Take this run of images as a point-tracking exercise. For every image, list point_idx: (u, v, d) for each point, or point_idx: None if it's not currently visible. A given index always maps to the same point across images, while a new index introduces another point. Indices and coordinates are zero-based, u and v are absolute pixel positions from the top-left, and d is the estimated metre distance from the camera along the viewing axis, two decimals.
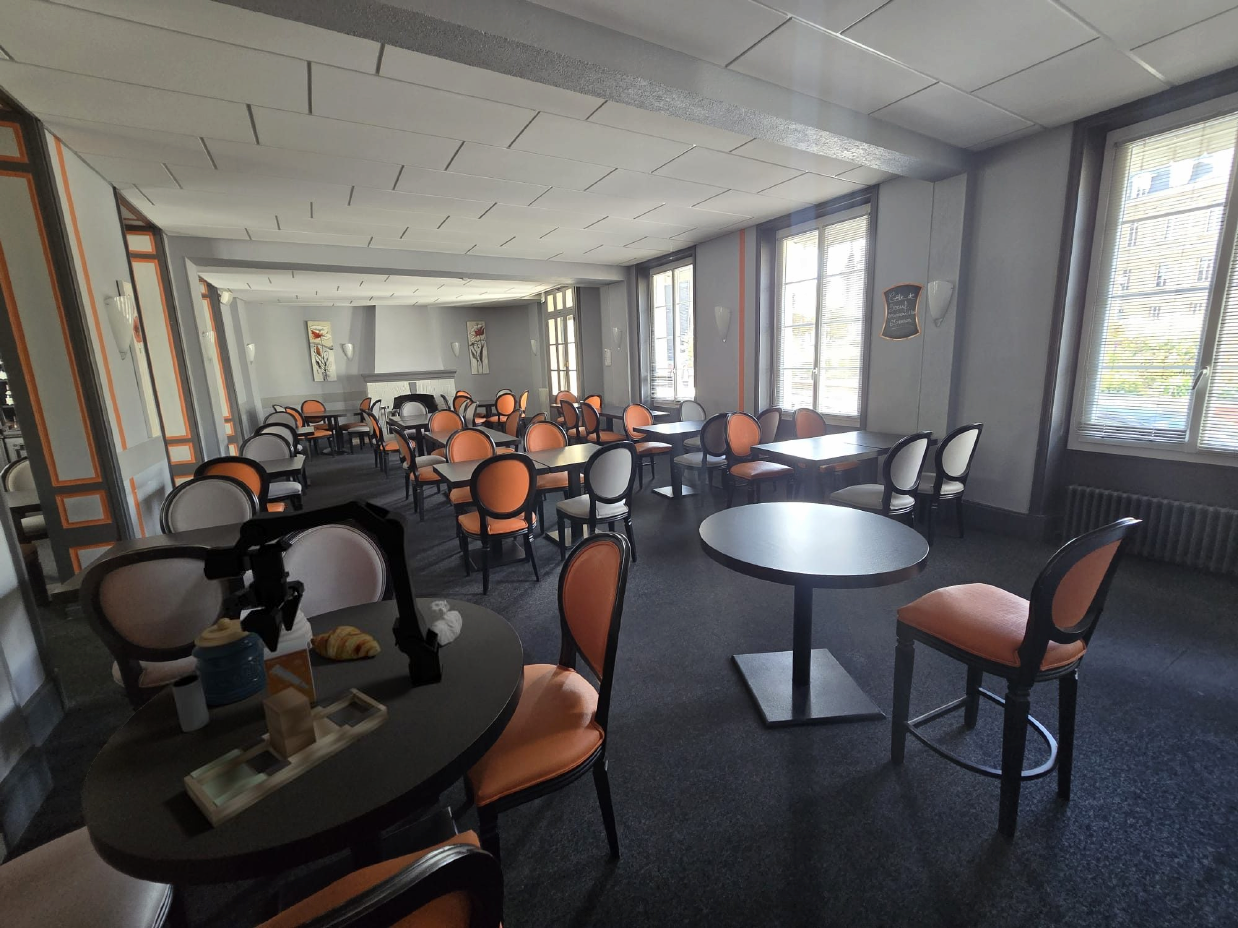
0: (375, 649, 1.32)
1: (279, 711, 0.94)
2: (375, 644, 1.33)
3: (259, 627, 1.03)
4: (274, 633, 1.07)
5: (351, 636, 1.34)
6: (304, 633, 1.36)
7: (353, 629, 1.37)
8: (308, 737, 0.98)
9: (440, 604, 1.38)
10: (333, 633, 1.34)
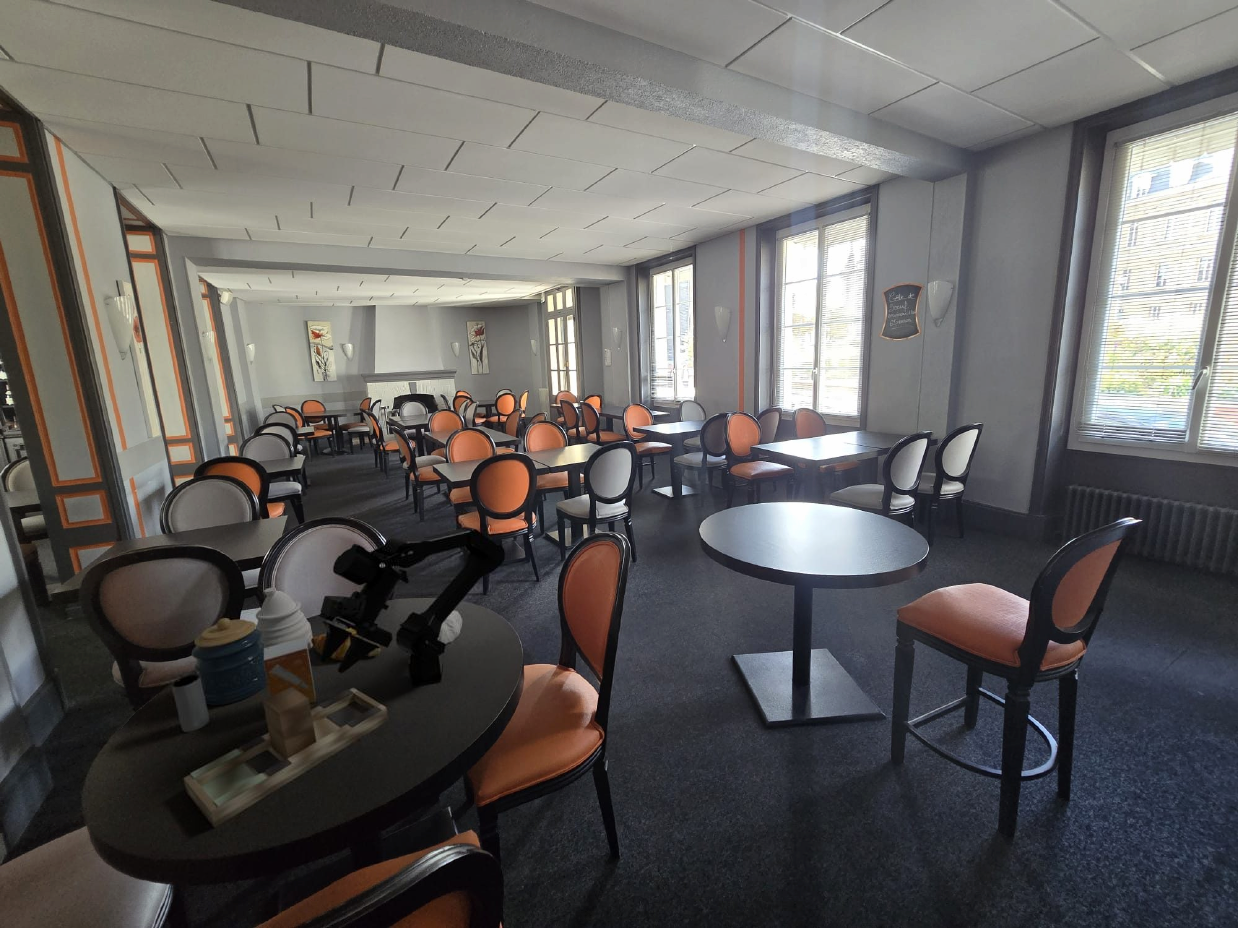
0: (375, 649, 1.32)
1: (279, 711, 0.94)
2: None
3: (379, 641, 1.02)
4: (363, 653, 1.04)
5: None
6: (304, 633, 1.36)
7: None
8: (308, 737, 0.98)
9: None
10: None
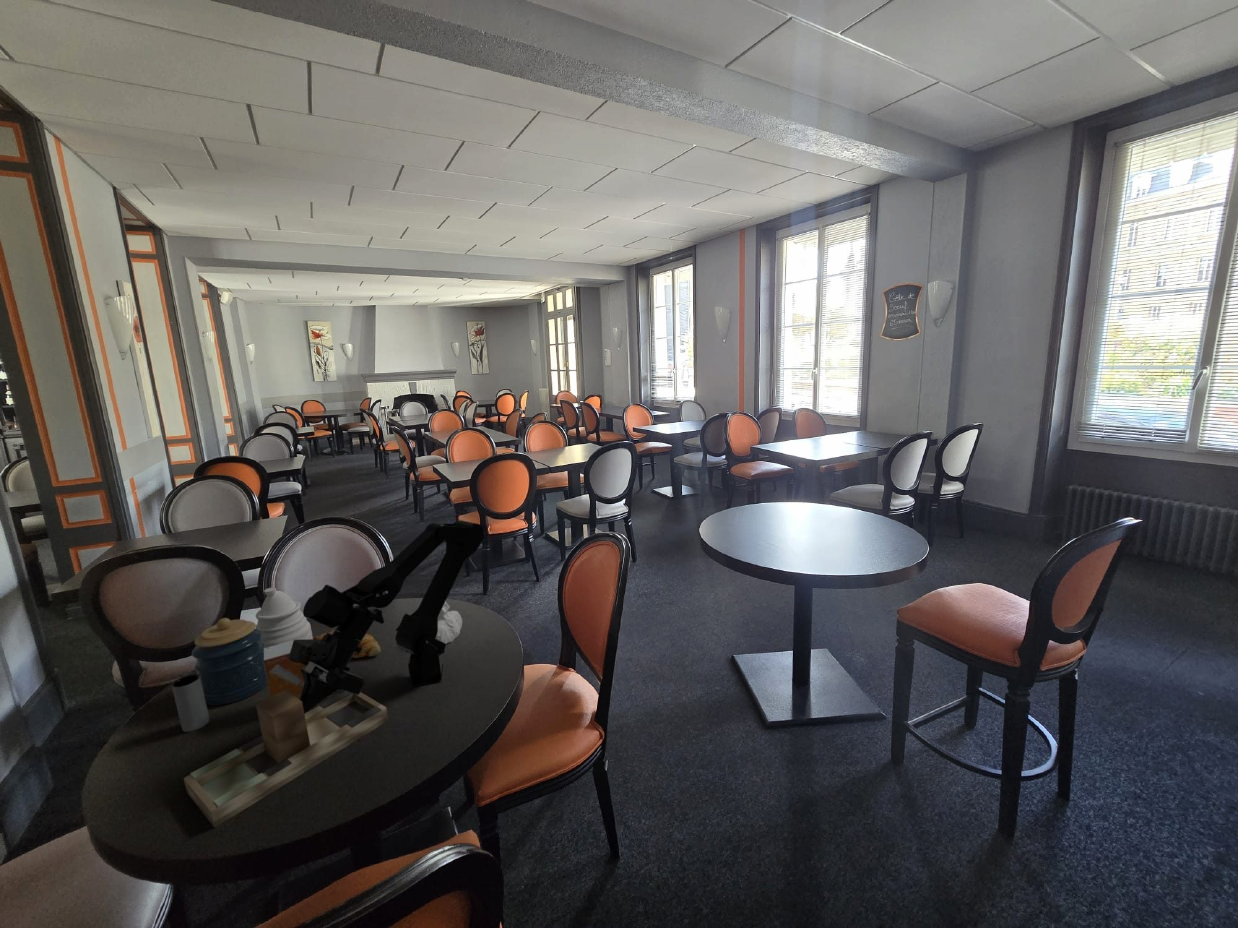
0: (375, 649, 1.32)
1: (272, 714, 0.93)
2: (376, 644, 1.33)
3: (349, 689, 0.98)
4: (324, 694, 1.01)
5: None
6: (304, 633, 1.36)
7: None
8: (302, 741, 0.97)
9: None
10: None
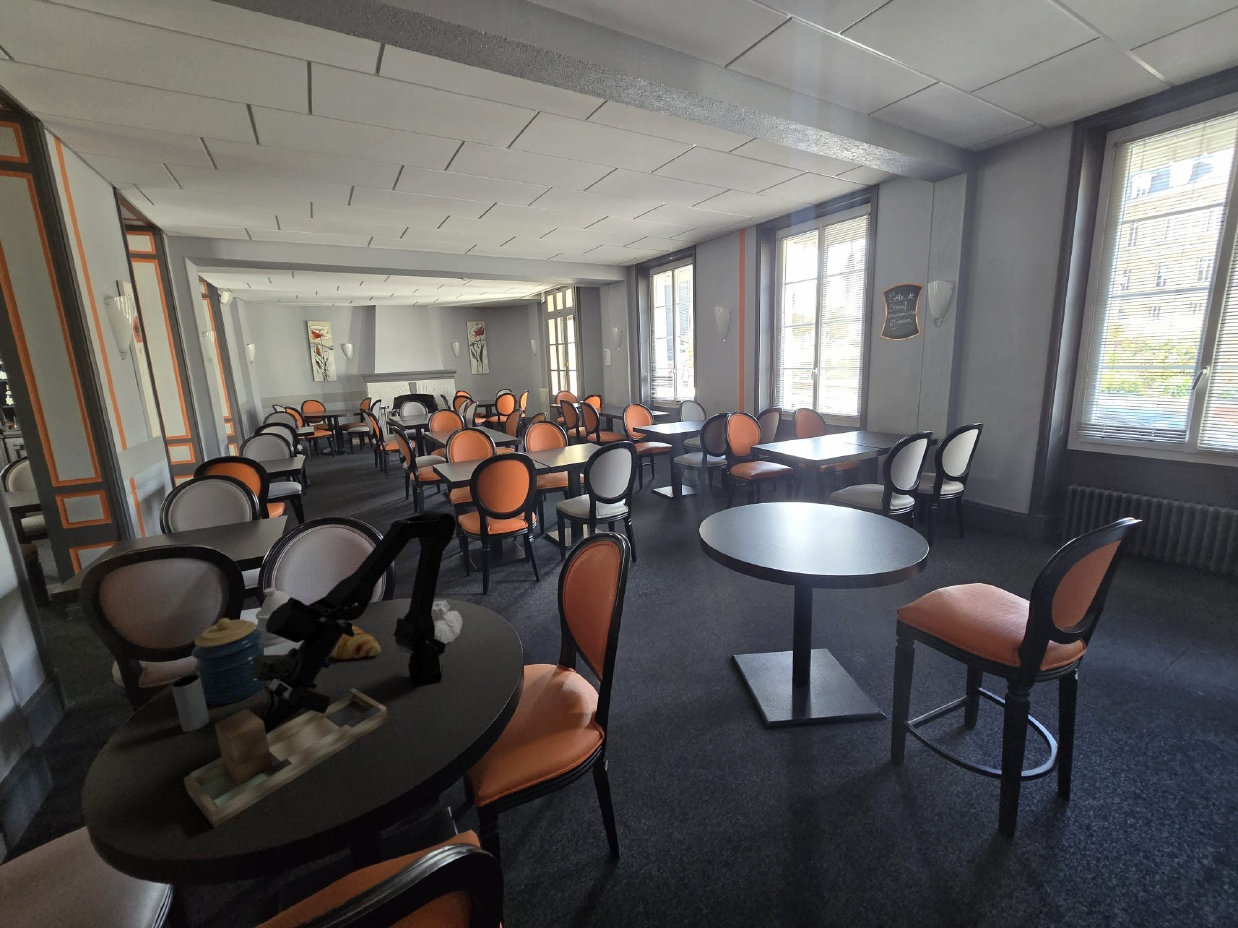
0: (375, 649, 1.32)
1: (230, 736, 0.88)
2: (376, 644, 1.33)
3: (314, 708, 0.93)
4: (288, 713, 0.96)
5: None
6: None
7: (355, 629, 1.37)
8: (264, 763, 0.92)
9: (440, 604, 1.38)
10: None
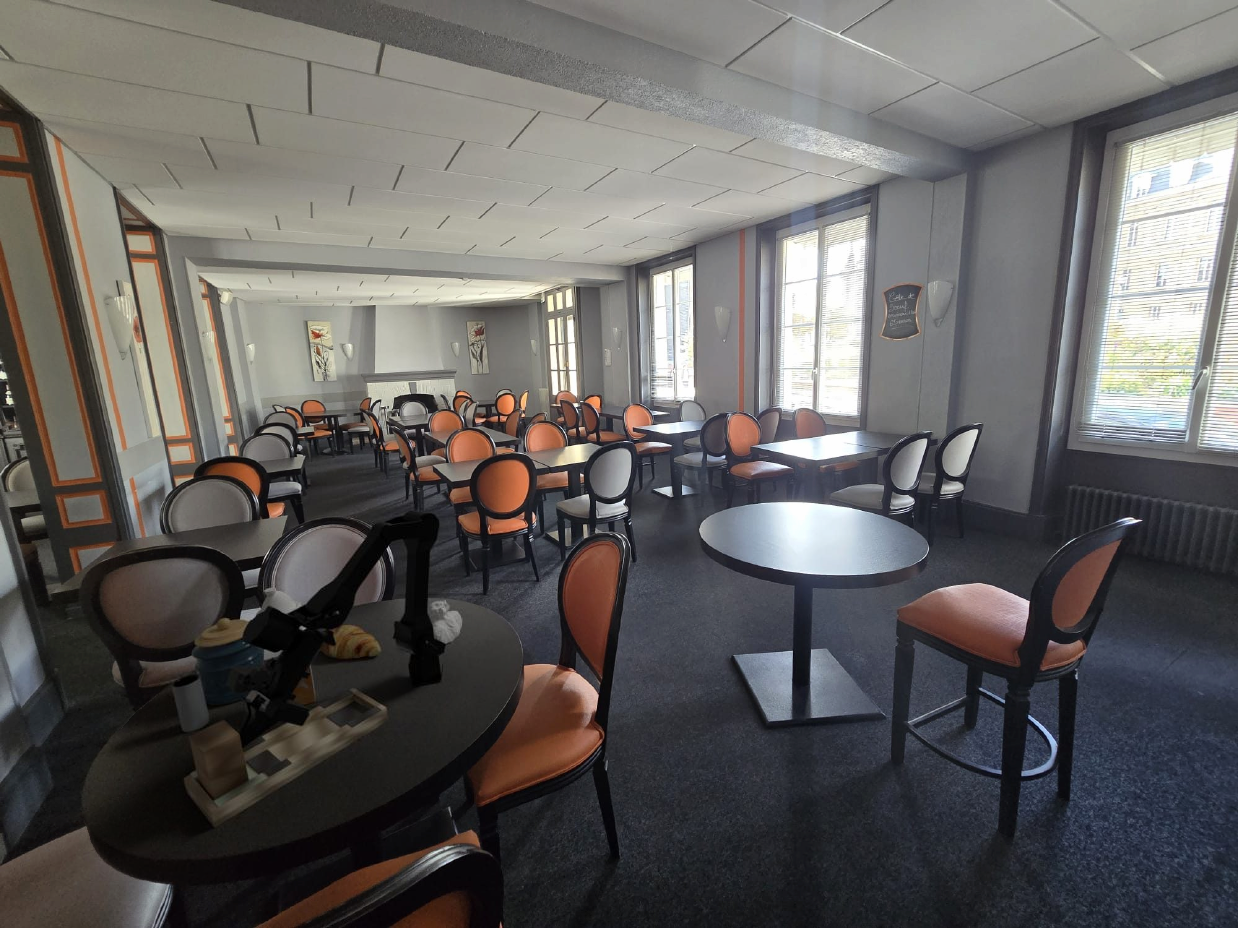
0: (375, 649, 1.32)
1: (203, 749, 0.85)
2: (376, 644, 1.33)
3: (292, 720, 0.90)
4: (266, 725, 0.94)
5: (353, 636, 1.34)
6: None
7: (356, 628, 1.37)
8: (240, 777, 0.89)
9: (440, 604, 1.38)
10: (336, 632, 1.34)
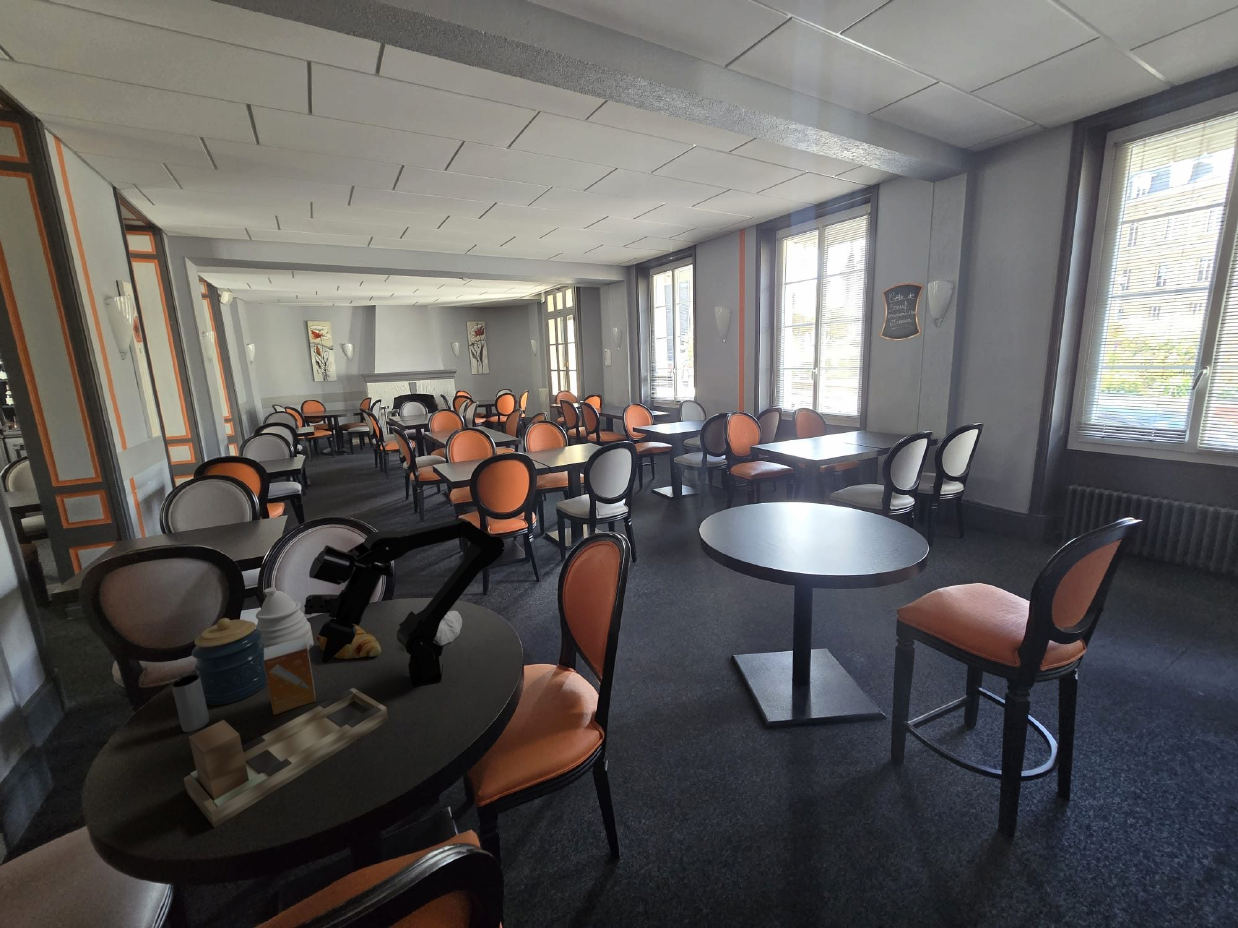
0: (375, 649, 1.32)
1: (203, 749, 0.85)
2: (376, 645, 1.33)
3: (336, 638, 1.01)
4: (340, 645, 1.08)
5: None
6: (304, 633, 1.36)
7: (357, 628, 1.37)
8: (240, 777, 0.89)
9: None
10: None
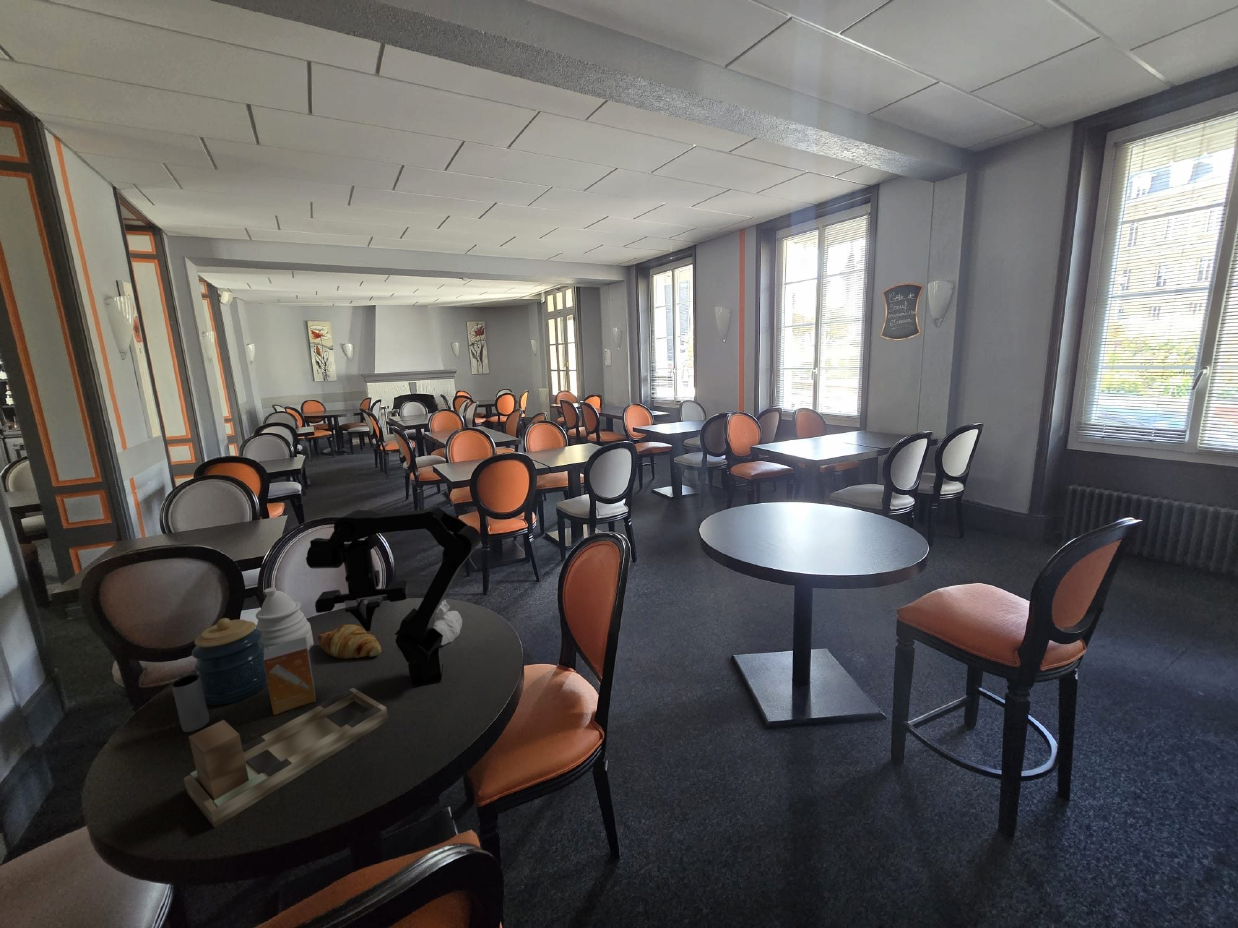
0: (375, 649, 1.32)
1: (203, 749, 0.85)
2: (376, 645, 1.33)
3: None
4: None
5: (354, 635, 1.34)
6: (304, 633, 1.36)
7: (357, 628, 1.37)
8: (240, 777, 0.89)
9: None
10: (337, 631, 1.34)
